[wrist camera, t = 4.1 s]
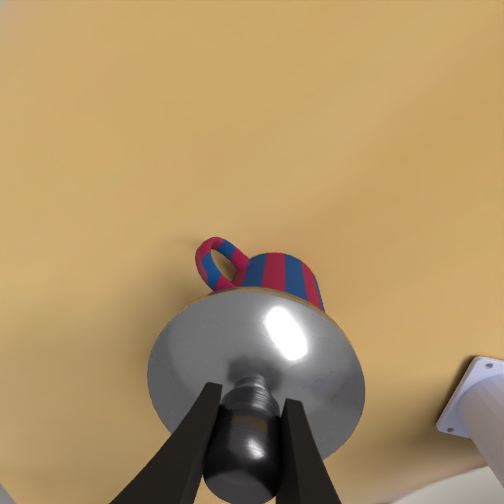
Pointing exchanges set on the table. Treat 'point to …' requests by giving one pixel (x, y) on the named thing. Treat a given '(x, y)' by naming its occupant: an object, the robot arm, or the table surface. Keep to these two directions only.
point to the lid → (256, 382)
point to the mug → (258, 271)
